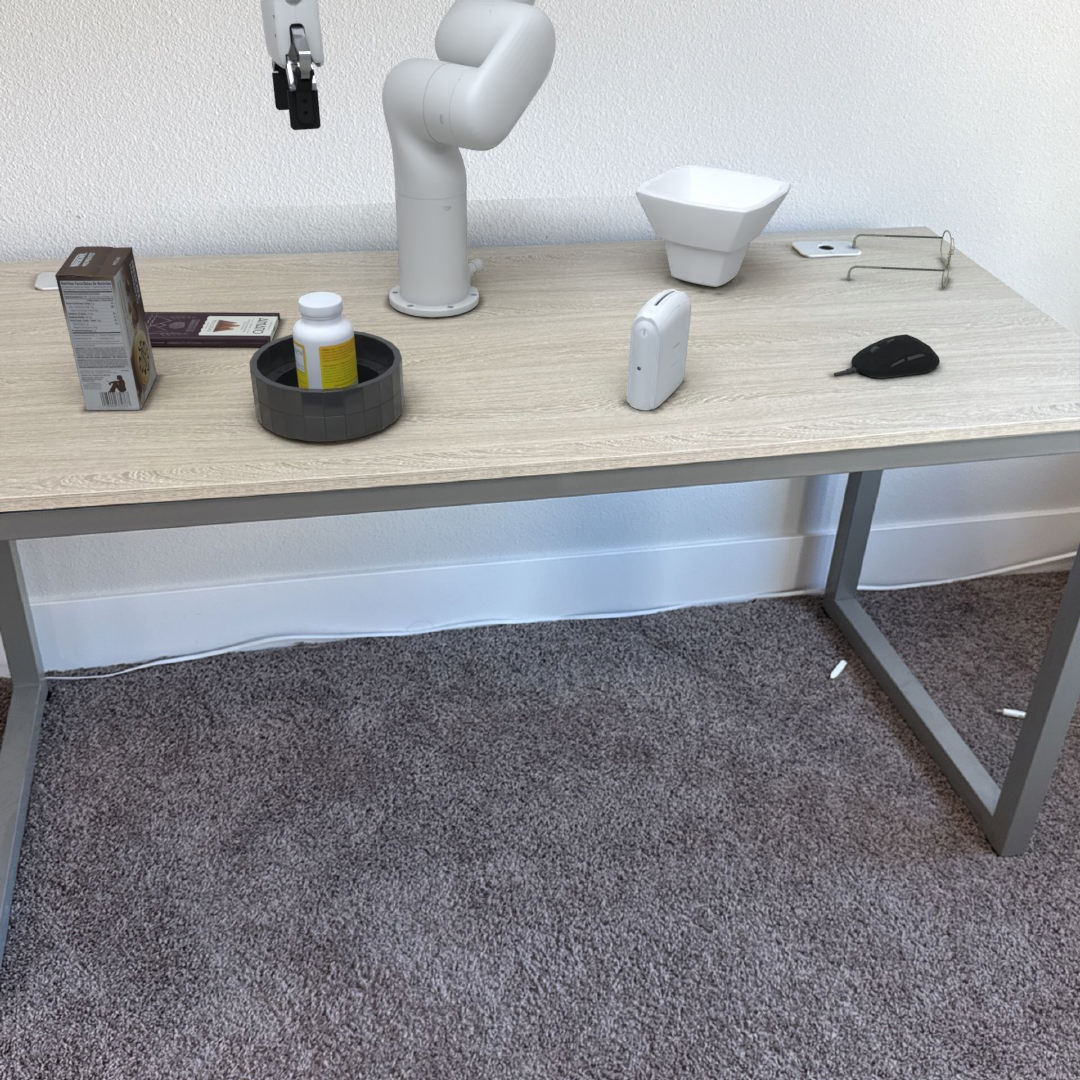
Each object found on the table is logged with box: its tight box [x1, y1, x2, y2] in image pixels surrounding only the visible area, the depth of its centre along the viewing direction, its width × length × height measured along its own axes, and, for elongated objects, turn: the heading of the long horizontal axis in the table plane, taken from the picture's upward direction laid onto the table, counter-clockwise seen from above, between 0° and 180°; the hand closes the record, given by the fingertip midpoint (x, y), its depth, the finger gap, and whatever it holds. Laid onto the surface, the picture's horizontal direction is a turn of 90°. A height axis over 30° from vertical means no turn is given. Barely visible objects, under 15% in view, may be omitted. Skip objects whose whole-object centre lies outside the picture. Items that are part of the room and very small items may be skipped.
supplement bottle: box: [292, 291, 358, 389], centre depth 121 cm, size 7×7×13 cm
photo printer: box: [625, 288, 692, 412], centre depth 127 cm, size 10×4×12 cm, turn 151°
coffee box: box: [54, 245, 158, 411], centre depth 123 cm, size 9×6×16 cm
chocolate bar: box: [145, 311, 281, 348], centre depth 142 cm, size 9×1×18 cm
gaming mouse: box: [833, 333, 941, 379], centre depth 137 cm, size 6×15×4 cm, turn 110°
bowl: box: [635, 163, 792, 288], centre depth 159 cm, size 19×19×14 cm
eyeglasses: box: [846, 229, 955, 289], centre depth 168 cm, size 16×15×5 cm
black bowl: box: [249, 330, 405, 443], centre depth 123 cm, size 17×17×6 cm
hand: (297, 118), depth 123 cm, fingers open, 9 cm apart
